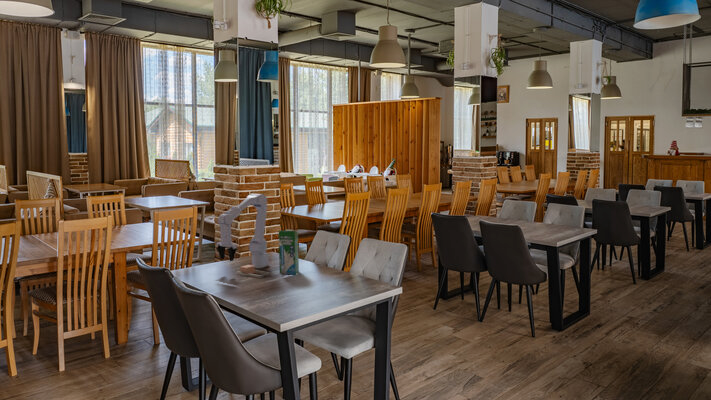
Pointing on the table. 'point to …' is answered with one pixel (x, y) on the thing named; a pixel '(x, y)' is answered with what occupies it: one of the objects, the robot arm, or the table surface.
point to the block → (248, 269)
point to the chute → (254, 274)
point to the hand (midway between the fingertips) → (227, 259)
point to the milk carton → (288, 252)
